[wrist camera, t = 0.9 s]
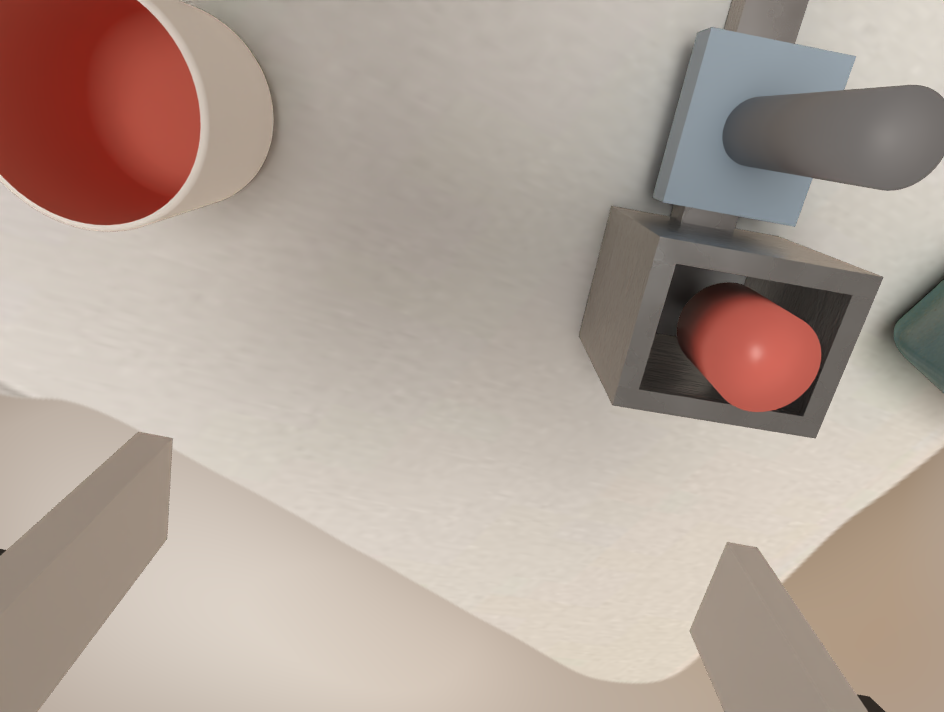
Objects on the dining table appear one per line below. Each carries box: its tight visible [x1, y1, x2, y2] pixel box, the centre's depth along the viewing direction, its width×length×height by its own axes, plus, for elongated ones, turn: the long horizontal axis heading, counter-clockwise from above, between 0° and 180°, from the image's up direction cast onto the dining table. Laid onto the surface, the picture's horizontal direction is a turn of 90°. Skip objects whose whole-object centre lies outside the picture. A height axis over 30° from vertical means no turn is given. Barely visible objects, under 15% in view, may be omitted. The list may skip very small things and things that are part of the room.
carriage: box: [652, 27, 944, 227], centre depth 27 cm, size 8×7×15 cm
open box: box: [579, 206, 883, 438], centre depth 33 cm, size 8×10×10 cm
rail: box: [670, 0, 809, 232], centre depth 30 cm, size 22×5×4 cm, turn 170°
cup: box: [0, 0, 274, 232], centre depth 29 cm, size 10×10×10 cm
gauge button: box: [677, 282, 821, 412], centre depth 28 cm, size 4×4×5 cm
